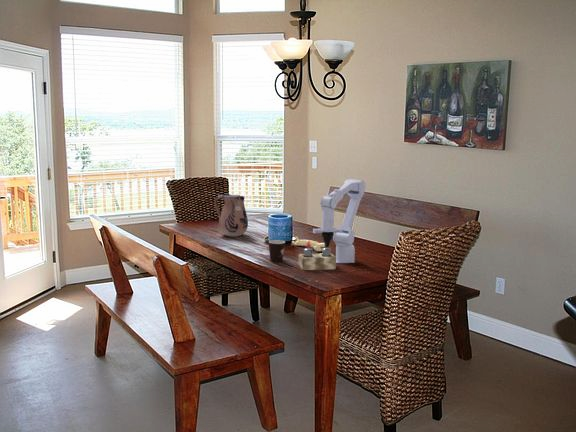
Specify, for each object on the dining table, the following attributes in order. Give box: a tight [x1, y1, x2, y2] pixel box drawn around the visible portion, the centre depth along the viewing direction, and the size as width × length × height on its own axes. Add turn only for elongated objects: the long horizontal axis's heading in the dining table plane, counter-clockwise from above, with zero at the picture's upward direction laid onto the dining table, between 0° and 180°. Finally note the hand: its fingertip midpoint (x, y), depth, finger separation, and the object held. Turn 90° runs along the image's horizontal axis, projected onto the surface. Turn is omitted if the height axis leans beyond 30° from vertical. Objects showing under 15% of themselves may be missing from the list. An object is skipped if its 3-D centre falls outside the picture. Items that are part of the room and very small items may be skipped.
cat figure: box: [290, 232, 329, 252], centre depth 336 cm, size 10×9×25 cm
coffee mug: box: [268, 239, 286, 263], centre depth 307 cm, size 12×9×10 cm
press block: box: [298, 252, 337, 271], centre depth 296 cm, size 17×9×6 cm, turn 102°
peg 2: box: [321, 247, 332, 257], centre depth 296 cm, size 4×4×6 cm
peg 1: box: [303, 247, 314, 257], centre depth 294 cm, size 4×4×6 cm
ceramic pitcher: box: [213, 194, 249, 238], centre depth 364 cm, size 18×21×25 cm
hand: (326, 246), depth 295 cm, fingers closed
